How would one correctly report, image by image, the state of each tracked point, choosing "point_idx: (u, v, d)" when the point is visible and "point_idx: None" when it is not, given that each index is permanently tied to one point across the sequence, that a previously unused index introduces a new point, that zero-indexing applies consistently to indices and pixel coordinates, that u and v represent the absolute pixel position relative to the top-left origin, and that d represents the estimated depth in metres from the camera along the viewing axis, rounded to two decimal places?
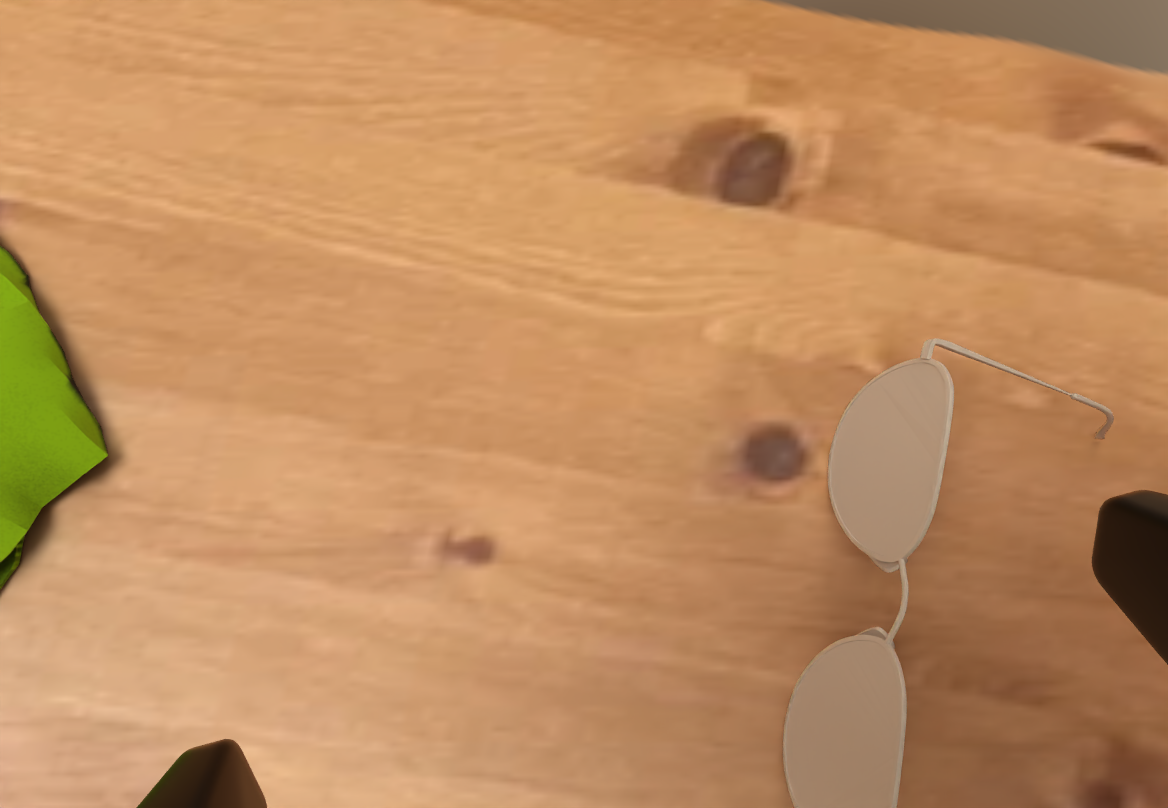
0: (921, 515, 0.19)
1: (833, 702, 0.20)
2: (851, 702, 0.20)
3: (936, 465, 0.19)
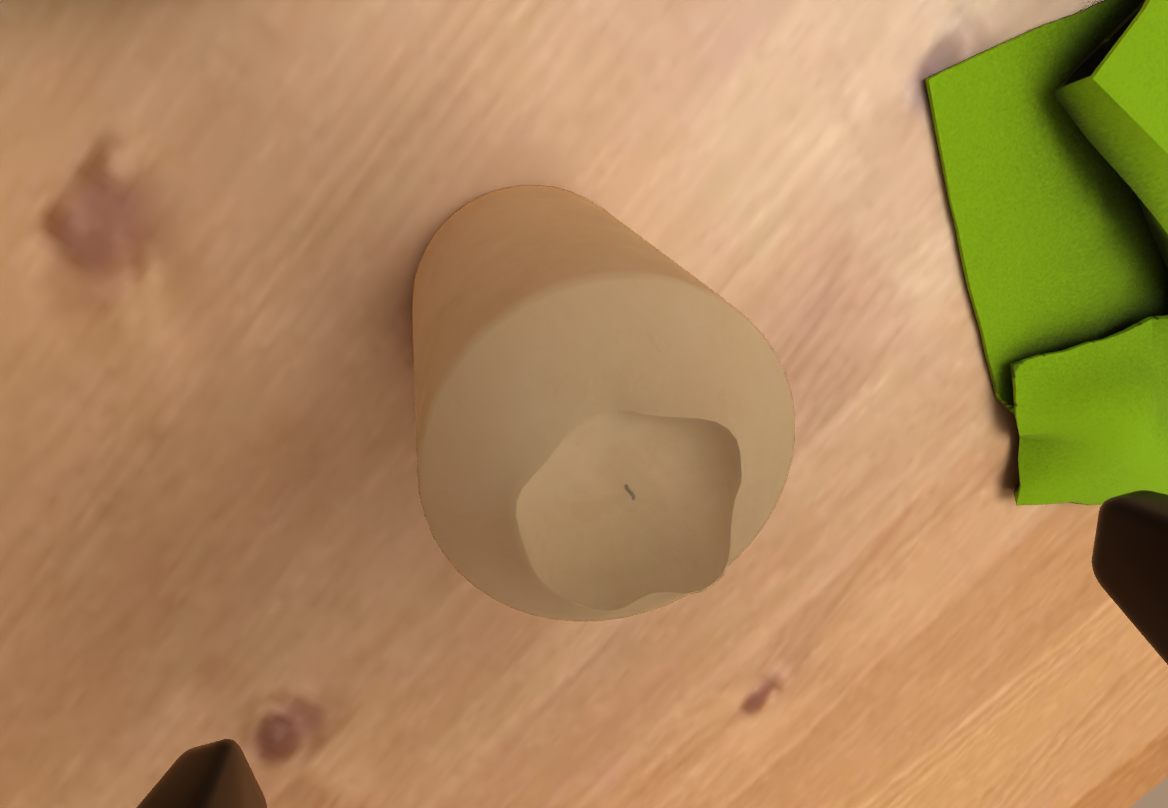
0: None
1: None
2: None
3: None
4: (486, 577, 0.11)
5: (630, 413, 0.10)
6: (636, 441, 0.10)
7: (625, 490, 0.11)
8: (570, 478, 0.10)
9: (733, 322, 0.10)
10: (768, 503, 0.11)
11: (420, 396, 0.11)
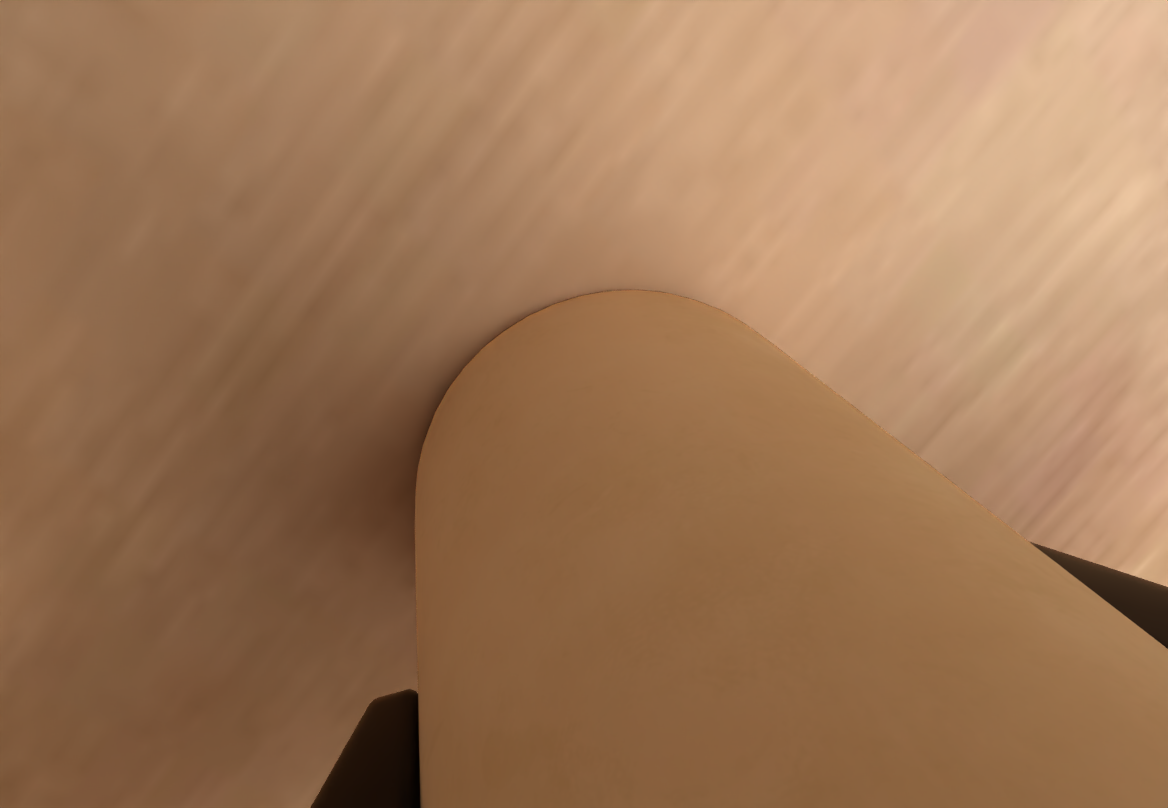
0: None
1: None
2: None
3: None
4: None
5: None
6: None
7: None
8: None
9: None
10: None
11: None
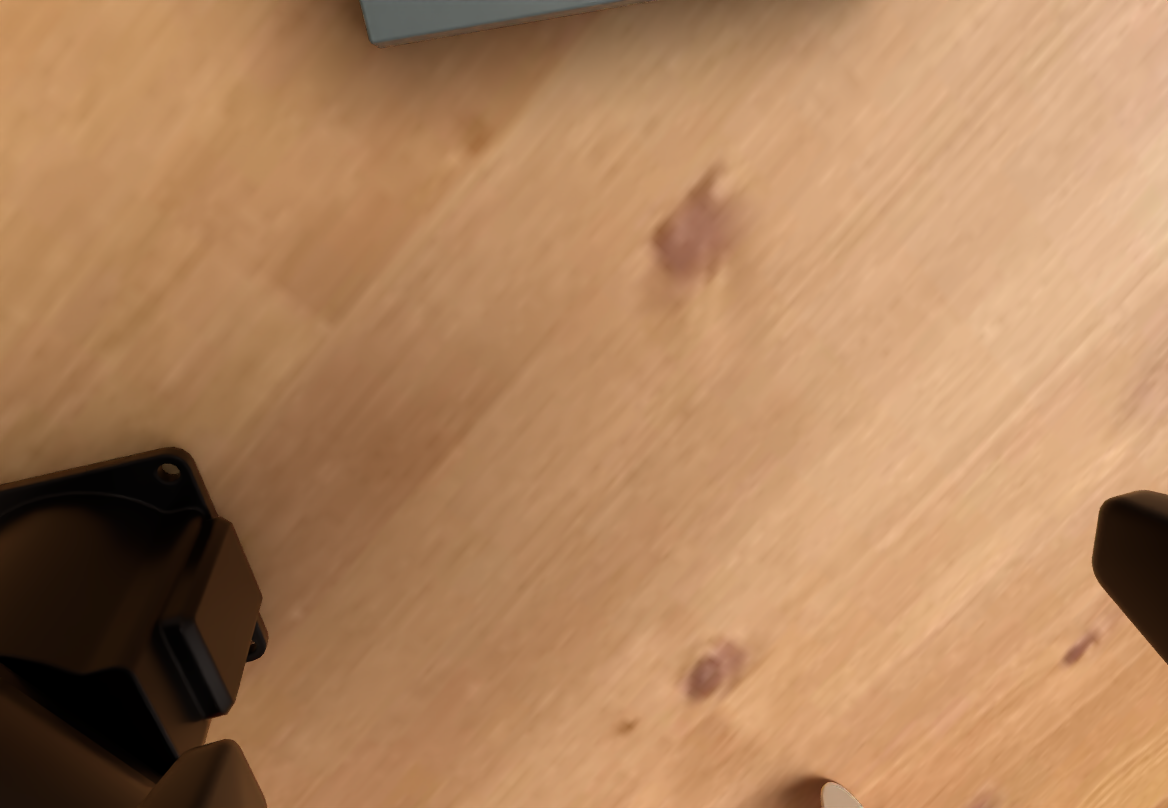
0: None
1: None
2: None
3: None
4: None
5: None
6: None
7: None
8: None
9: None
10: None
11: None
